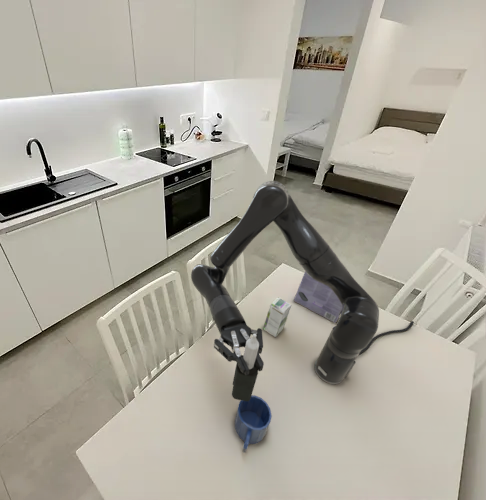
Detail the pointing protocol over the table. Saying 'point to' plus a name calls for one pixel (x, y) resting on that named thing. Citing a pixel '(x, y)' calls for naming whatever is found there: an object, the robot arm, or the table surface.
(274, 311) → the syrup box
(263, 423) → the mug
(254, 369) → the candle
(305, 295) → the cake pan box
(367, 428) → the table surface
